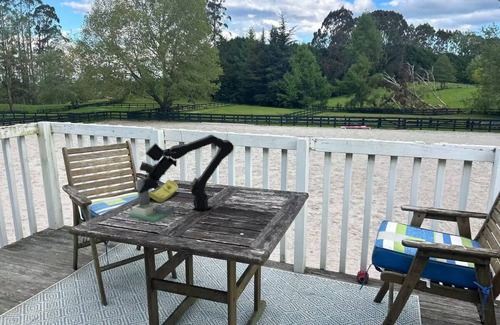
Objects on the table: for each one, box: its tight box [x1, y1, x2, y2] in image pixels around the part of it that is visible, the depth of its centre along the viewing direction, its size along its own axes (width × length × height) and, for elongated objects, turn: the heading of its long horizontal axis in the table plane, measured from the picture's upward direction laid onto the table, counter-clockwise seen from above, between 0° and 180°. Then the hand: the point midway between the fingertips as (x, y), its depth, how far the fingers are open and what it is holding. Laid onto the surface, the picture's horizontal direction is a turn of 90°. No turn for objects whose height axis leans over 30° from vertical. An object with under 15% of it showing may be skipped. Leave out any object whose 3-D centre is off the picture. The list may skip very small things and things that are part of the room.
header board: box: [128, 202, 175, 223], centre depth 180 cm, size 16×14×4 cm
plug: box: [135, 178, 151, 205], centre depth 178 cm, size 6×5×12 cm
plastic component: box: [149, 179, 179, 203], centre depth 207 cm, size 20×7×10 cm
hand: (140, 190), depth 178 cm, fingers closed on plug, 5 cm apart
